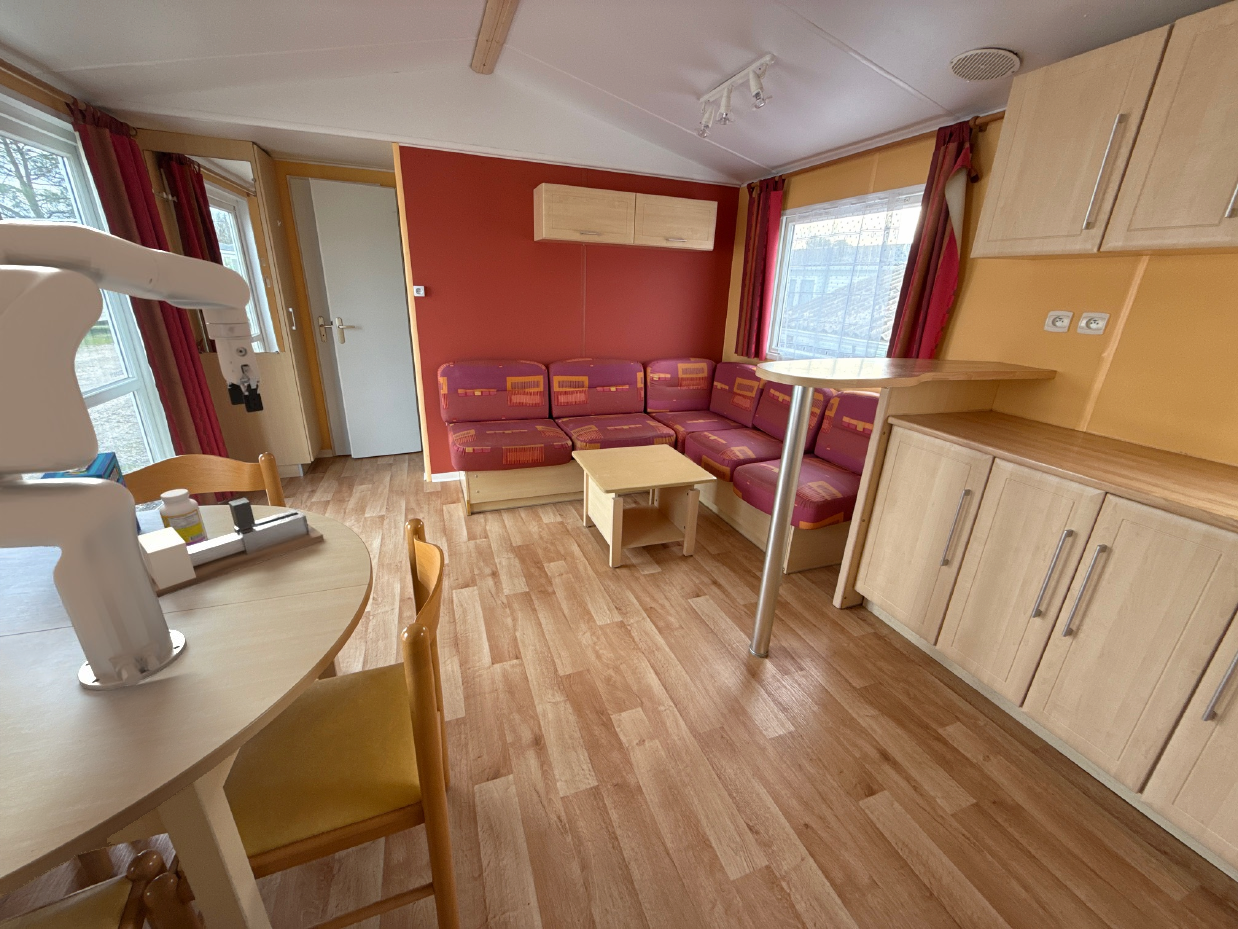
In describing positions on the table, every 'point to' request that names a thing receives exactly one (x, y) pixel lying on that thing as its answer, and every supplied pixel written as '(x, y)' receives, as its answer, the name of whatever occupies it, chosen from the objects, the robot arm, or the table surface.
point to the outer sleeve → (274, 531)
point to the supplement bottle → (183, 516)
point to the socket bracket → (166, 557)
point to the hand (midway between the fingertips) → (247, 407)
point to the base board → (239, 562)
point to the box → (97, 472)
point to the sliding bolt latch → (225, 543)
